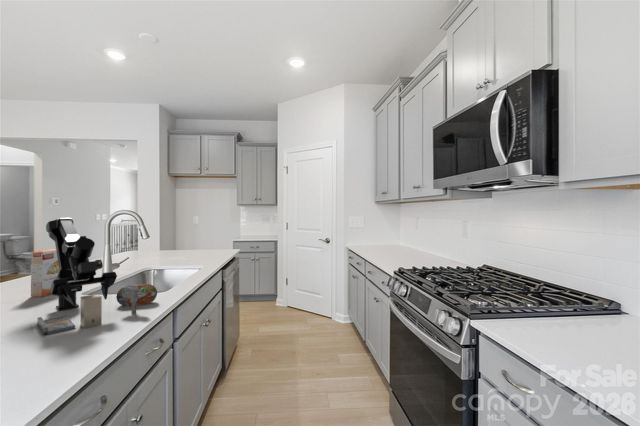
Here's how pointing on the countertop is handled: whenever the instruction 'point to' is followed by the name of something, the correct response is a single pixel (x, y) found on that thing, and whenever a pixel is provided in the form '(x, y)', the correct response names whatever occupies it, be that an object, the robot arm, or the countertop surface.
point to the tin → (147, 299)
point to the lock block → (91, 311)
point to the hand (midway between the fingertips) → (90, 301)
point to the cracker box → (43, 271)
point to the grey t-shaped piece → (133, 294)
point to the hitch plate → (55, 325)
